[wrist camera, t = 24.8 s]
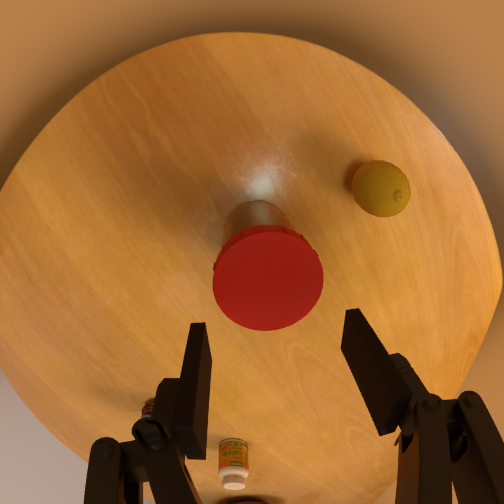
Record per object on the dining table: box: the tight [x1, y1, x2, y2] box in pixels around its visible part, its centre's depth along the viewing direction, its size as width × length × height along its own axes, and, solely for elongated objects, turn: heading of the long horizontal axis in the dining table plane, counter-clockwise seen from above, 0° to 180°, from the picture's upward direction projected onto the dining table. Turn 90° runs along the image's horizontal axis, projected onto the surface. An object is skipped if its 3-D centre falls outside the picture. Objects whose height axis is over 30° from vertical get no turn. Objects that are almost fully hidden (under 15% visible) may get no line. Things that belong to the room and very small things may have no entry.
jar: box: [221, 200, 296, 249], centre depth 26 cm, size 7×7×12 cm
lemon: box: [352, 161, 410, 217], centre depth 26 cm, size 6×6×8 cm
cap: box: [213, 224, 324, 331], centre depth 21 cm, size 8×8×2 cm
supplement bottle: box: [219, 439, 249, 490], centre depth 42 cm, size 5×5×10 cm
